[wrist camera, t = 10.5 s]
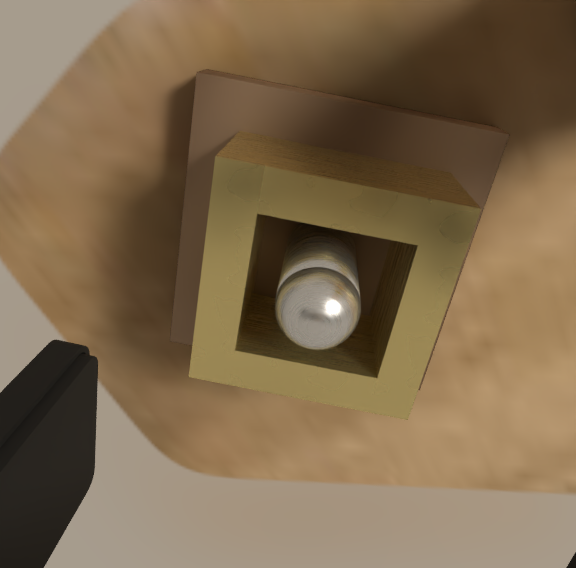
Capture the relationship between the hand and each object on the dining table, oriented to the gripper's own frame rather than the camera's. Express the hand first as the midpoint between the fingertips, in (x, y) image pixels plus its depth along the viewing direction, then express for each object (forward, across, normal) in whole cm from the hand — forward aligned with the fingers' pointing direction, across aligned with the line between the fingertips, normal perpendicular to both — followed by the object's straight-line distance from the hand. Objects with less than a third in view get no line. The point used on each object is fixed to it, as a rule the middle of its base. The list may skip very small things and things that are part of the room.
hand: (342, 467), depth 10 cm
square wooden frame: (+10, +1, 0) cm, 10 cm away
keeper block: (+12, +1, 0) cm, 12 cm away
